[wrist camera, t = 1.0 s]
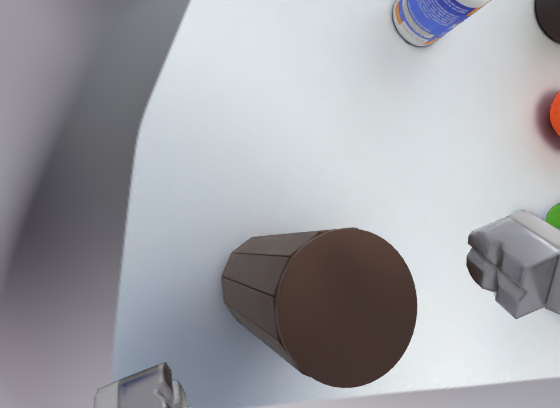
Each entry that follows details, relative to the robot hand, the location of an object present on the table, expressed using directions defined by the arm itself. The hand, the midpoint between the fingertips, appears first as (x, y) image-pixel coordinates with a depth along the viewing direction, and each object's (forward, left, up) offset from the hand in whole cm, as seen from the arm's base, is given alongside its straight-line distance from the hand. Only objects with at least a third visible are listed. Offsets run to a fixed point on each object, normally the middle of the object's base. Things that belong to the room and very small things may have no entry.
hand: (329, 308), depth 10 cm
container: (+4, -2, -20) cm, 21 cm away
